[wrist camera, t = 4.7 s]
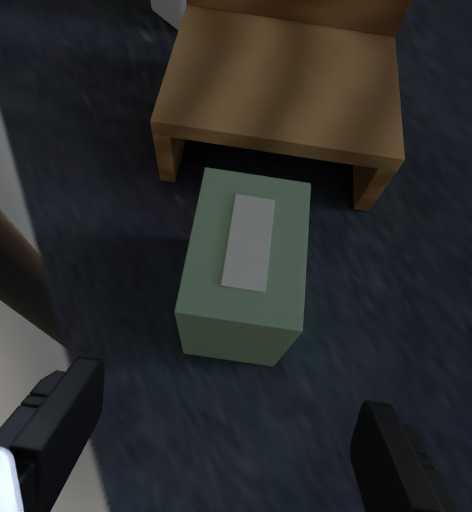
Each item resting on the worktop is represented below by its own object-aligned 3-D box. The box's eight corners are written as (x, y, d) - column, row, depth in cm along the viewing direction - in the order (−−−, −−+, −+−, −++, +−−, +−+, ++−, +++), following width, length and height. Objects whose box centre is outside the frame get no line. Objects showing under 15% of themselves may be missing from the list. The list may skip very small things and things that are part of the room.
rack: (159, 180, 30) (143, 79, 21) (191, 65, 35) (187, -48, 27) (368, 212, 30) (430, 123, 22) (365, 92, 35) (412, -13, 27)
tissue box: (183, 353, 24) (173, 311, 17) (204, 240, 28) (205, 165, 20) (273, 367, 24) (303, 330, 17) (283, 252, 28) (311, 181, 20)
